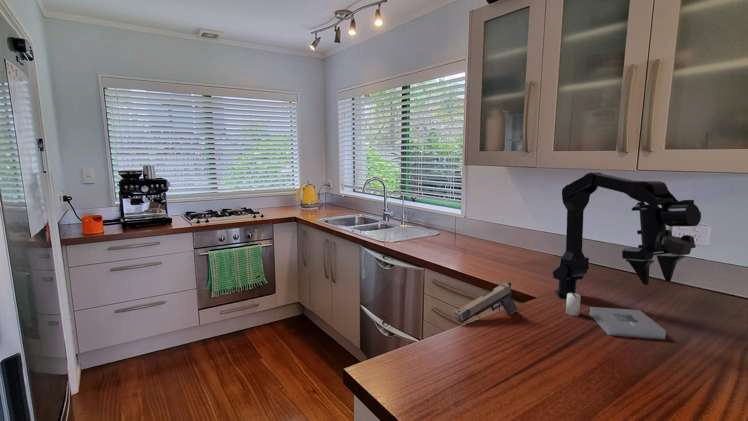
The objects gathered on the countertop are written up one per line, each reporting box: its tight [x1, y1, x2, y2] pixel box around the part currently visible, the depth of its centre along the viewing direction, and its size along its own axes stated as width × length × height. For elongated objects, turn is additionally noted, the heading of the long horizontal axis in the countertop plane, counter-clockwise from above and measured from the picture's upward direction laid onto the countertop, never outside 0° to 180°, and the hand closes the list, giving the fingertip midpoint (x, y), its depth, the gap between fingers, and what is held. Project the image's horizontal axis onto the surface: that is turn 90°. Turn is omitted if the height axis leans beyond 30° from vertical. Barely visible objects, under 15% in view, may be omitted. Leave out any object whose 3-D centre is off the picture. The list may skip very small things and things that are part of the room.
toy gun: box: [454, 281, 519, 324], centre depth 116 cm, size 2×21×10 cm, turn 111°
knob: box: [565, 293, 582, 317], centre depth 119 cm, size 4×4×6 cm
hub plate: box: [589, 306, 667, 340], centre depth 110 cm, size 14×14×3 cm
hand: (657, 283), depth 104 cm, fingers open, 9 cm apart
